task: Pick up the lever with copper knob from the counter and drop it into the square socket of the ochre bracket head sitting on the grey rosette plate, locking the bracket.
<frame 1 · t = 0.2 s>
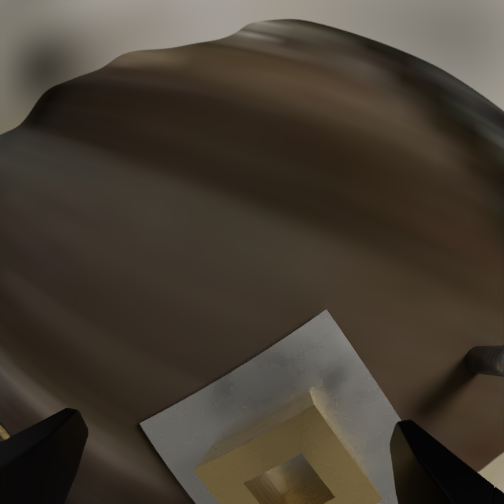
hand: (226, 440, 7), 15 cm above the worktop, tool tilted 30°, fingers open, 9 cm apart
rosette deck: (311, 484, 19), on the worktop
lever with copper knob: (476, 359, 20), on the worktop
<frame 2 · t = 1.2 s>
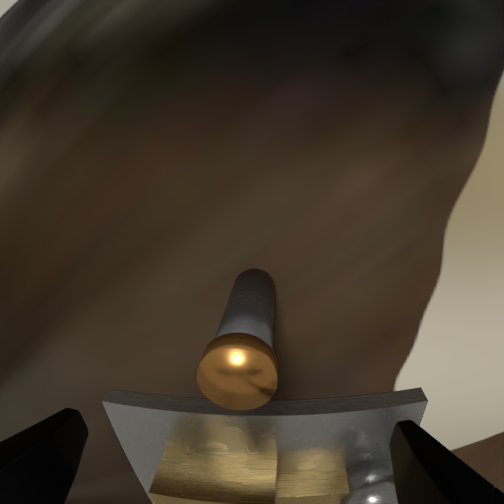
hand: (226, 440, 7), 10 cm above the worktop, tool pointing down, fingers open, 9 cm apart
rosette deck: (265, 468, 22), on the worktop
lever with copper knob: (254, 288, 17), on the worktop
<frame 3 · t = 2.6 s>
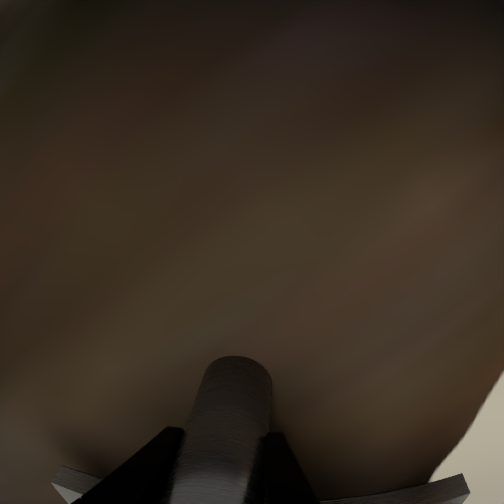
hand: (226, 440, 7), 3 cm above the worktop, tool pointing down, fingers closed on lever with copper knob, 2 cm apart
lever with copper knob: (237, 383, 10), on the worktop, touching gripper
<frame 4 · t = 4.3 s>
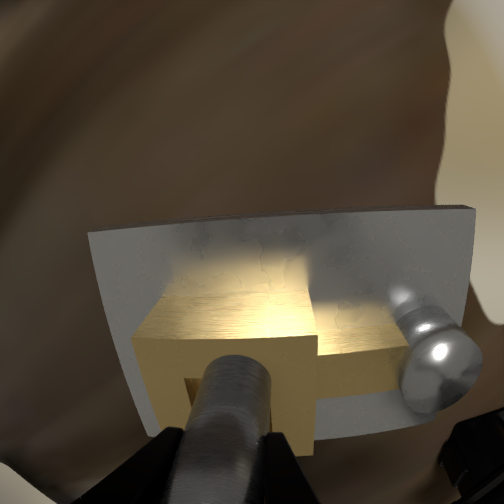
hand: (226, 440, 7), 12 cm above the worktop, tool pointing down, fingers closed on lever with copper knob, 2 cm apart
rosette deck: (290, 341, 20), on the worktop
lever with copper knob: (237, 382, 10), point 9 cm above the worktop, touching gripper
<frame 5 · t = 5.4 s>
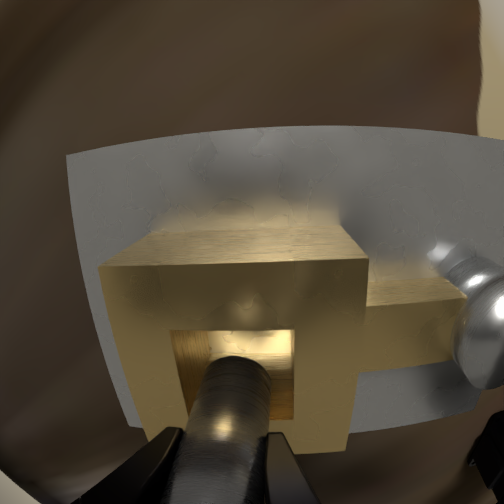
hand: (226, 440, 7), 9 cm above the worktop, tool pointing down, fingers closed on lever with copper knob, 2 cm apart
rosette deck: (312, 301, 15), on the worktop
lever with copper knob: (237, 383, 10), point 6 cm above the worktop, touching gripper
when the fingers open (7 cm above the worktop, at t = 5.9 s): lever with copper knob drops 3 cm, resting on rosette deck.
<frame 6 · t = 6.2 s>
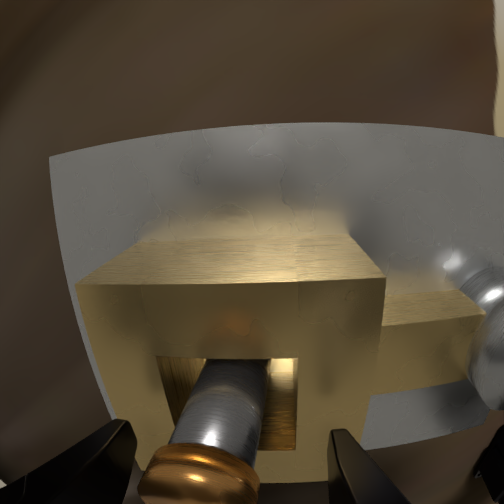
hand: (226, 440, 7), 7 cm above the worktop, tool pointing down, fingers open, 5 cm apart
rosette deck: (316, 316, 14), on the worktop
lever with copper knob: (247, 335, 13), point 2 cm above the worktop, touching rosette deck
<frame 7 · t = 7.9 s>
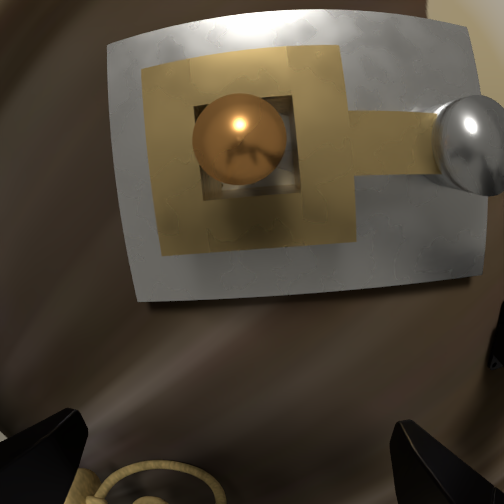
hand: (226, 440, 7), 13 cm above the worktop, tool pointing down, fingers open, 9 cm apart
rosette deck: (309, 147, 17), on the worktop
lever with copper knob: (256, 150, 16), point 2 cm above the worktop, touching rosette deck
wall sconce: (167, 460, 26), on the worktop
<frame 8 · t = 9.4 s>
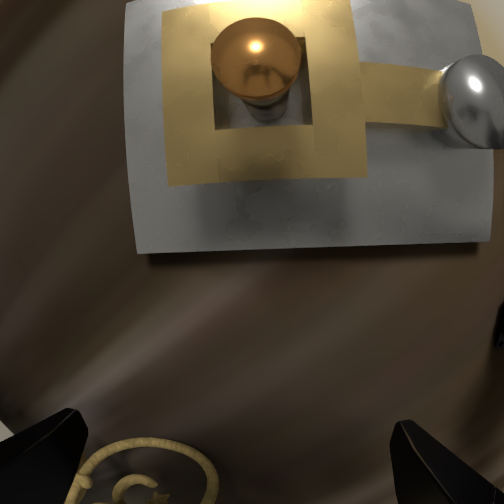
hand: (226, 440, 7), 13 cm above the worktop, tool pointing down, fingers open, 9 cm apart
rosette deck: (319, 103, 17), on the worktop
lever with copper knob: (266, 100, 16), point 2 cm above the worktop, touching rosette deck
wall sconce: (158, 438, 25), on the worktop
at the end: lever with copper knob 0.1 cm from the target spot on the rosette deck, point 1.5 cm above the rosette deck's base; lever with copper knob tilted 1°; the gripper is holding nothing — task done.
